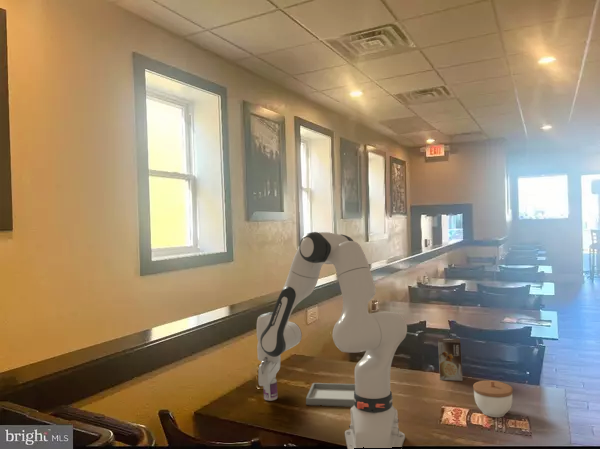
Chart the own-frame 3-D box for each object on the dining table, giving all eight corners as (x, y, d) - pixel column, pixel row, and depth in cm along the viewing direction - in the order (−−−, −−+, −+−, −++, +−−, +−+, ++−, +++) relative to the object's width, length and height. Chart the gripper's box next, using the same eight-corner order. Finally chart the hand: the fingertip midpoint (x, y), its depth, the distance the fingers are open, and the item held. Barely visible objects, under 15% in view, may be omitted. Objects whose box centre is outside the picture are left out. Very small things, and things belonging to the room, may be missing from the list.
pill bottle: (277, 395, 184) (276, 371, 184) (277, 400, 178) (276, 375, 178) (264, 396, 184) (263, 371, 183) (263, 401, 178) (262, 376, 178)
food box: (461, 376, 197) (460, 338, 196) (462, 381, 191) (461, 342, 190) (439, 374, 199) (438, 337, 199) (439, 379, 193) (438, 341, 193)
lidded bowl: (466, 409, 164) (465, 378, 164) (494, 402, 168) (493, 372, 168) (492, 423, 152) (491, 390, 152) (522, 416, 156) (520, 384, 156)
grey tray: (362, 407, 169) (362, 400, 169) (306, 404, 173) (305, 398, 173) (364, 390, 185) (364, 384, 185) (313, 388, 189) (312, 382, 189)
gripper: (269, 362, 170) (271, 399, 170) (282, 346, 190) (284, 380, 190) (253, 362, 171) (255, 399, 171) (267, 346, 191) (269, 379, 191)
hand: (270, 389), depth 181 cm, fingers closed on pill bottle, 5 cm apart
